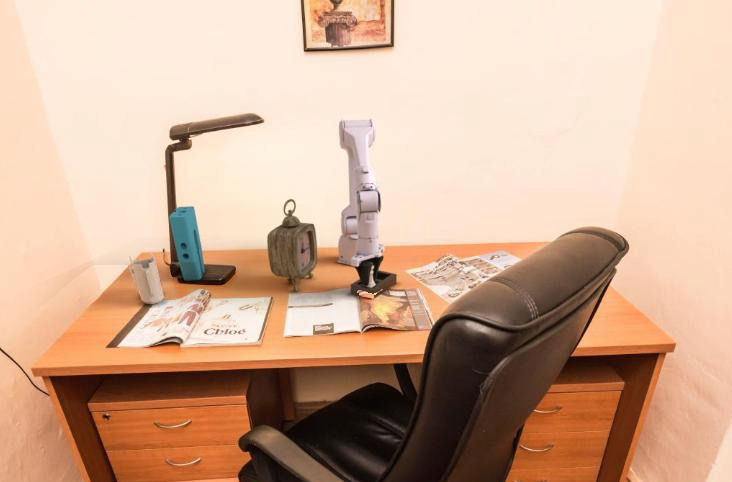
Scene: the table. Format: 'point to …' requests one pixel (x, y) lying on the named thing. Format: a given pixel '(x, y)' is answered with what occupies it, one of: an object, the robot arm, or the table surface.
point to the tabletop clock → (292, 248)
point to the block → (187, 242)
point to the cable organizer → (147, 280)
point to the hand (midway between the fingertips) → (368, 282)
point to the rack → (382, 282)
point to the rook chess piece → (371, 278)
